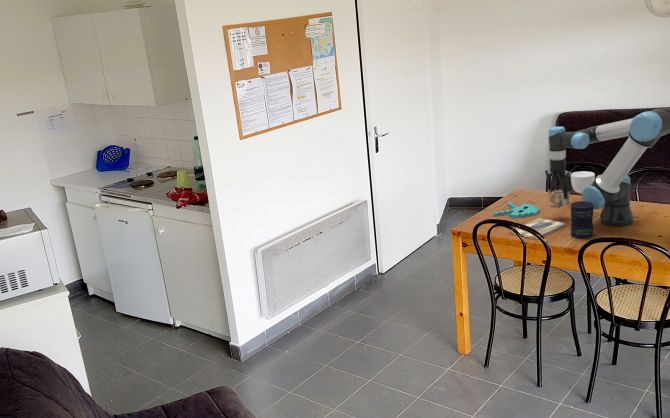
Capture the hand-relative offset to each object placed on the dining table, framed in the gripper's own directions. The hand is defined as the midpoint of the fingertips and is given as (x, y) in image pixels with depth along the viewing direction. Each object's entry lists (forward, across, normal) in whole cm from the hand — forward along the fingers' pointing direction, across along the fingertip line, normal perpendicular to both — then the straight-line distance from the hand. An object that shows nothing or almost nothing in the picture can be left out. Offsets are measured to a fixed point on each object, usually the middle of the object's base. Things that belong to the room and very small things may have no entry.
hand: (559, 204), depth 328 cm
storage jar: (+9, -21, +14) cm, 27 cm away
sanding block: (0, 0, 0) cm, 0 cm away
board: (+8, -1, +19) cm, 21 cm away
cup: (+8, +4, -26) cm, 27 cm away
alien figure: (+8, +24, +1) cm, 25 cm away
